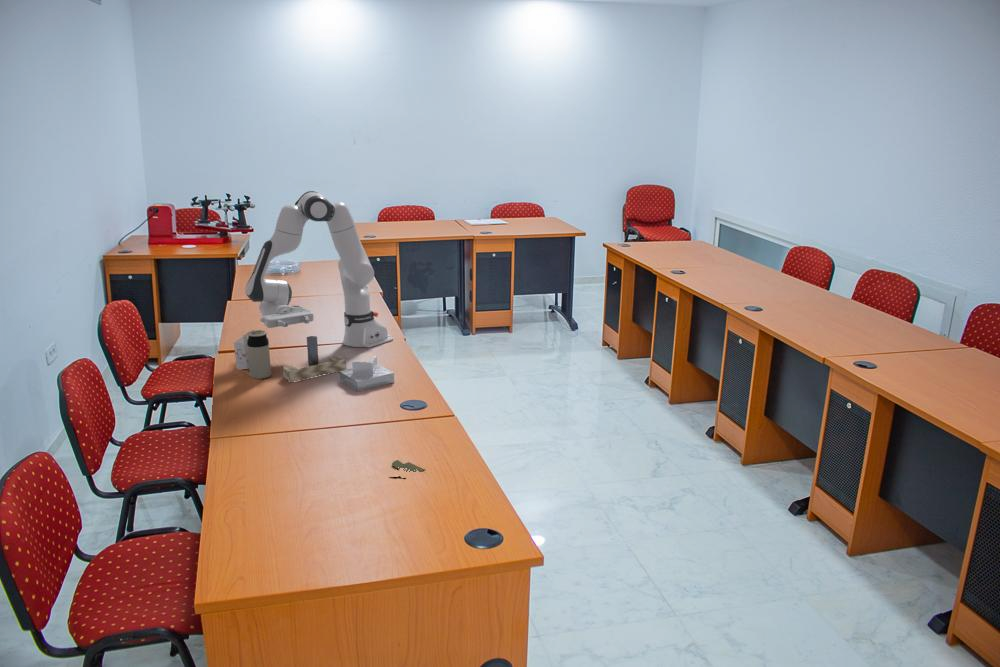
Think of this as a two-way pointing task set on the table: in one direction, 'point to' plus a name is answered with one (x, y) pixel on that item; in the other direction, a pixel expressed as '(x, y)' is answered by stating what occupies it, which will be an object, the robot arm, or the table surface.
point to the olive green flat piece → (407, 466)
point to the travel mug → (258, 354)
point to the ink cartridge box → (242, 352)
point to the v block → (366, 375)
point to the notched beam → (314, 369)
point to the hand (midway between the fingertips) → (296, 323)
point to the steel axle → (312, 350)
